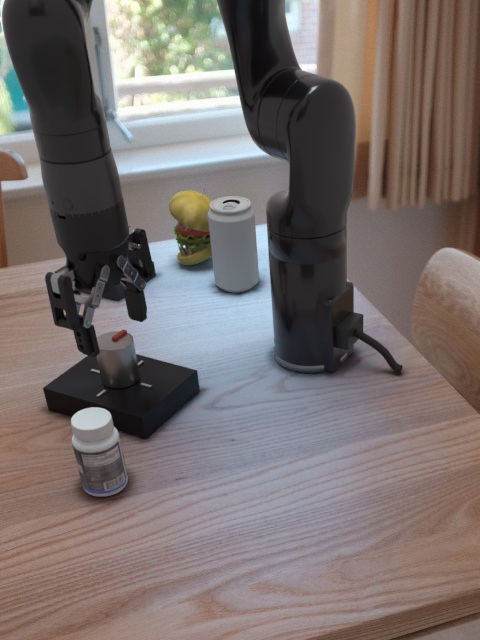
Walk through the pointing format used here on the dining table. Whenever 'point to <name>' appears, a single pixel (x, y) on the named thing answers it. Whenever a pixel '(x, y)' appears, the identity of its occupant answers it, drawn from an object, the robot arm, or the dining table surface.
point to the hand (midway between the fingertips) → (115, 336)
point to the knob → (117, 359)
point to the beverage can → (233, 243)
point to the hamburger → (191, 226)
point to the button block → (114, 291)
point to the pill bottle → (98, 452)
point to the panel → (125, 394)
